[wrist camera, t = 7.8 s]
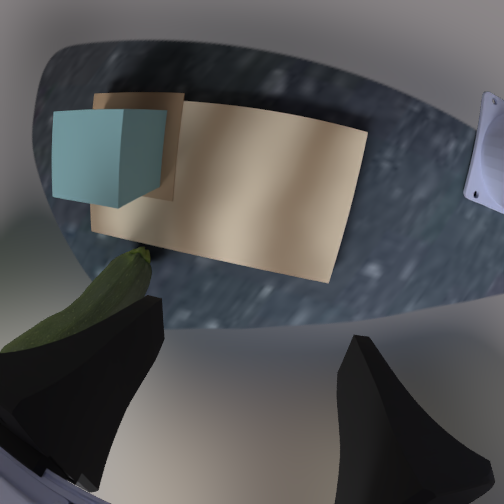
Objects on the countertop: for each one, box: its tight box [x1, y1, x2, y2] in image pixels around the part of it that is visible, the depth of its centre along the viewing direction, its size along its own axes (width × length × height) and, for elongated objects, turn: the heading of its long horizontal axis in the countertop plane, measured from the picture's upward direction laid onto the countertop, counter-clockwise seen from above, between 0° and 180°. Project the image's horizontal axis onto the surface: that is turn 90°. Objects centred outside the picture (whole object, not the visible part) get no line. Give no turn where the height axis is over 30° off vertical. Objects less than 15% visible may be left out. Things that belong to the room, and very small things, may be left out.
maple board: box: [90, 92, 368, 283], centre depth 18 cm, size 18×10×1 cm, turn 81°
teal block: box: [52, 109, 167, 209], centre depth 15 cm, size 5×5×5 cm
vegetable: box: [0, 247, 152, 353], centre depth 14 cm, size 4×4×20 cm
